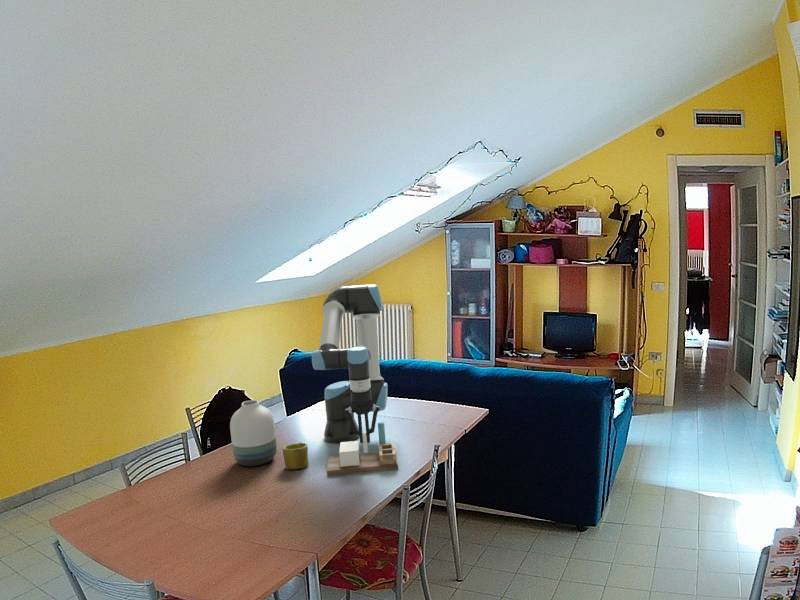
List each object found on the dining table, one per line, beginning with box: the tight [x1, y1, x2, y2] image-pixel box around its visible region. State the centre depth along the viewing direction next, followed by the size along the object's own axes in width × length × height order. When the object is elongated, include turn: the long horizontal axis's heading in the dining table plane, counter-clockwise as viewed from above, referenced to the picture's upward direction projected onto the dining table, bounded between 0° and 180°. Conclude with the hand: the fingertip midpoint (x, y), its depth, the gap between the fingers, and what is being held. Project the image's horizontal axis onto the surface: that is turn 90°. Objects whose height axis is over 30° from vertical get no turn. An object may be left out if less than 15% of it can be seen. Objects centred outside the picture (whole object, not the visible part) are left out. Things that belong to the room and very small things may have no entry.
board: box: [326, 442, 399, 477], centre depth 231 cm, size 13×26×6 cm, turn 93°
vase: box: [229, 399, 278, 467], centre depth 242 cm, size 17×17×24 cm
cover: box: [338, 440, 361, 467], centre depth 230 cm, size 10×7×6 cm
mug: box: [282, 441, 309, 471], centre depth 236 cm, size 12×10×10 cm
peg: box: [377, 421, 387, 446], centre depth 242 cm, size 2×2×12 cm
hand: (365, 451), depth 229 cm, fingers closed
